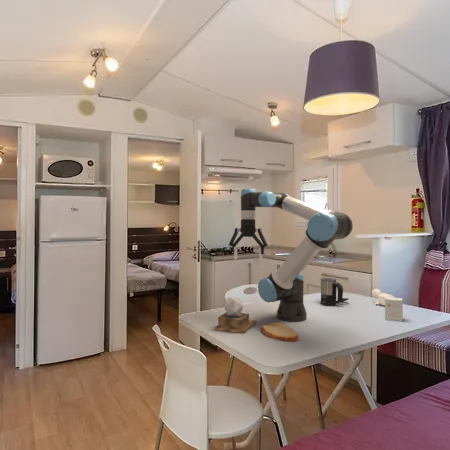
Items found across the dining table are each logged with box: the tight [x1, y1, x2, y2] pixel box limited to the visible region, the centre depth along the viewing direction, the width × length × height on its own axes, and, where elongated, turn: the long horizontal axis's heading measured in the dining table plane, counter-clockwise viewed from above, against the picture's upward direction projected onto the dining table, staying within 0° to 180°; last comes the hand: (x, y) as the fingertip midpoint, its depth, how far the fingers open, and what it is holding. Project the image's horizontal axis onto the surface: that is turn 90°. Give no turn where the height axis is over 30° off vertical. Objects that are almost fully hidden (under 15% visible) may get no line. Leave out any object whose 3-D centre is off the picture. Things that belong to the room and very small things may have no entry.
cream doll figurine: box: [371, 288, 396, 306], centre depth 216 cm, size 9×8×15 cm
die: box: [224, 297, 244, 316], centre depth 171 cm, size 8×9×10 cm
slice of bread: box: [260, 321, 300, 343], centre depth 163 cm, size 18×18×4 cm
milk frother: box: [319, 277, 349, 307], centre depth 219 cm, size 14×16×15 cm
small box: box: [384, 297, 404, 322], centre depth 186 cm, size 8×6×10 cm
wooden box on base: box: [214, 312, 257, 334], centre depth 175 cm, size 14×18×6 cm
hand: (247, 260), depth 193 cm, fingers open, 13 cm apart
